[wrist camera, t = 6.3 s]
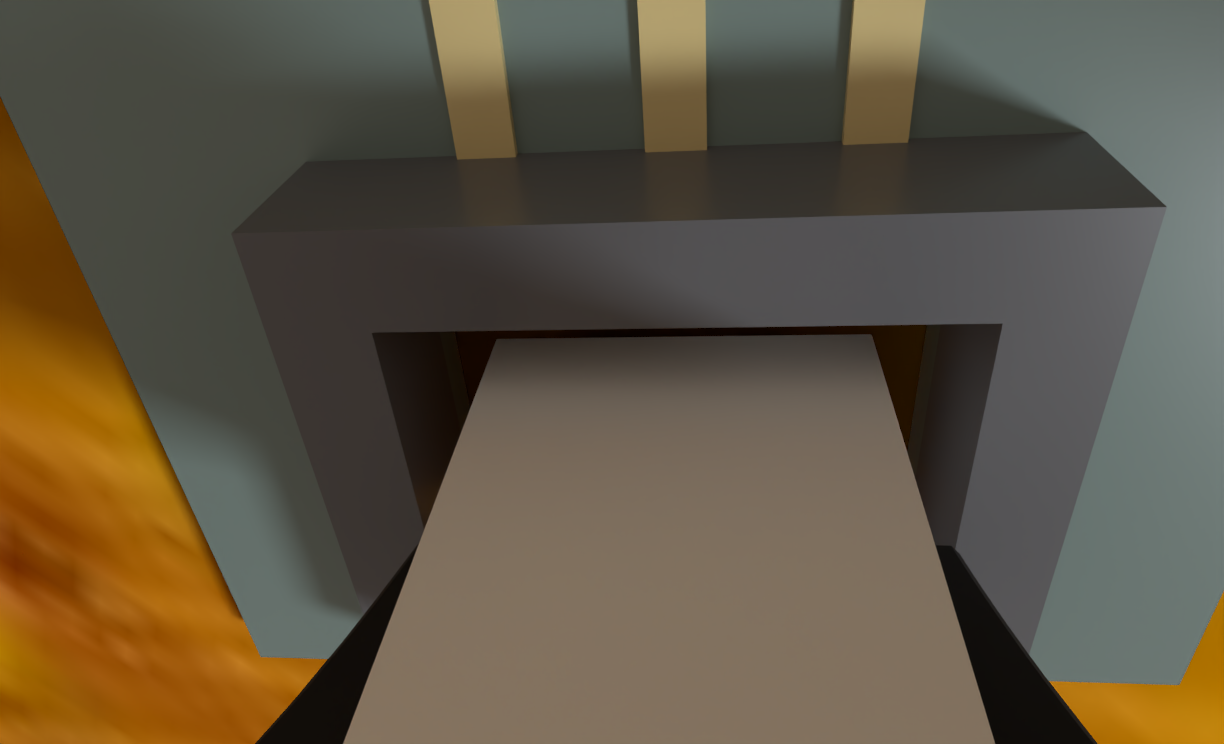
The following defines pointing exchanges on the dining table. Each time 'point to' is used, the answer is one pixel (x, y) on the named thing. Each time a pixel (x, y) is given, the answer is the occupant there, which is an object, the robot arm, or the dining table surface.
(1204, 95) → the header socket
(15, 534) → the dining table surface
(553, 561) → the plug
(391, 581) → the robot arm
